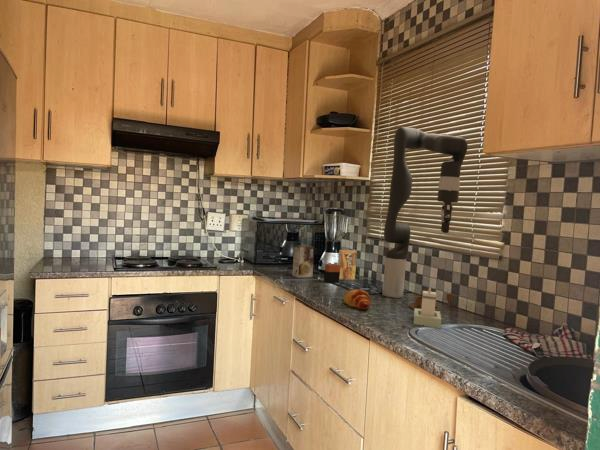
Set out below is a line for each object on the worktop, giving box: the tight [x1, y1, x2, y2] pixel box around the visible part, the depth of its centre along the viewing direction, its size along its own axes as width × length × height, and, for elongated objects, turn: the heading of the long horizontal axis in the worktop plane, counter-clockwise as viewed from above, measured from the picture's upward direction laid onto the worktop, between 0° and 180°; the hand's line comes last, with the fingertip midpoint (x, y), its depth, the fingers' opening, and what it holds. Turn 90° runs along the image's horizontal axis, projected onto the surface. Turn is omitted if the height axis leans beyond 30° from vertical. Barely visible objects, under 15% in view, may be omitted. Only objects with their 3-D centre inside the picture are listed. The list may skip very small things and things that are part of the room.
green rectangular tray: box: [413, 307, 443, 329], centre depth 160 cm, size 12×9×3 cm
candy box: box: [337, 249, 358, 281], centre depth 237 cm, size 9×4×15 cm, turn 107°
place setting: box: [408, 293, 454, 312], centre depth 180 cm, size 18×20×6 cm
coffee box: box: [292, 245, 315, 278], centre depth 234 cm, size 9×6×16 cm
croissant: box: [343, 289, 371, 310], centre depth 178 cm, size 21×10×8 cm, turn 13°
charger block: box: [421, 287, 437, 316], centre depth 159 cm, size 5×5×12 cm
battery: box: [323, 262, 340, 284], centre depth 224 cm, size 4×7×10 cm, turn 113°
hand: (444, 232), depth 168 cm, fingers open, 8 cm apart
